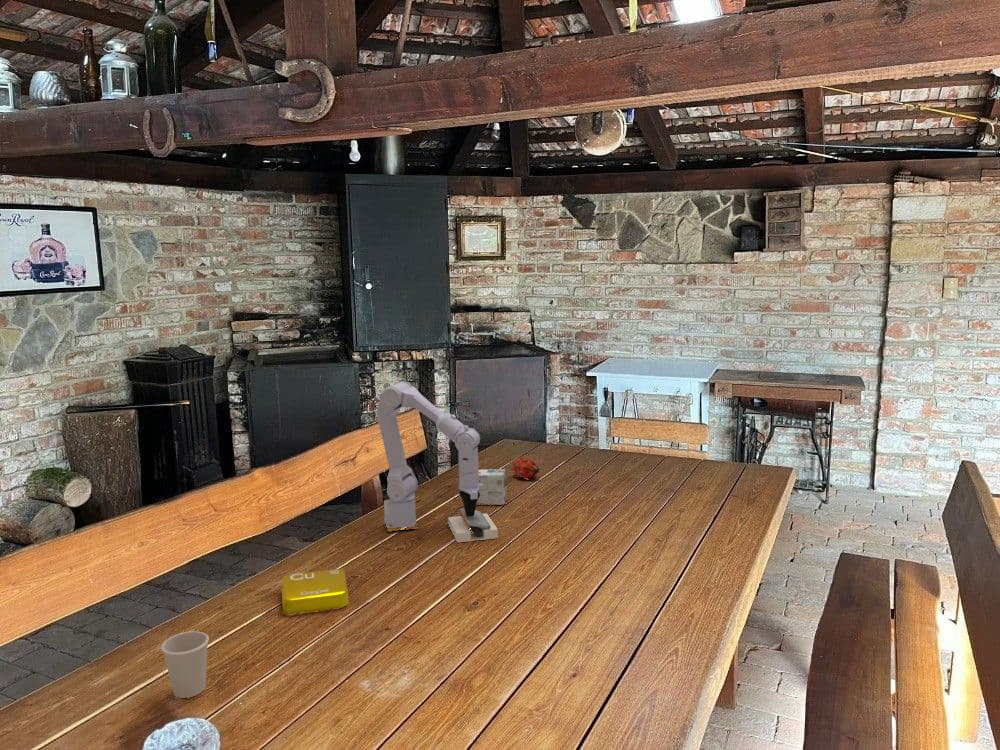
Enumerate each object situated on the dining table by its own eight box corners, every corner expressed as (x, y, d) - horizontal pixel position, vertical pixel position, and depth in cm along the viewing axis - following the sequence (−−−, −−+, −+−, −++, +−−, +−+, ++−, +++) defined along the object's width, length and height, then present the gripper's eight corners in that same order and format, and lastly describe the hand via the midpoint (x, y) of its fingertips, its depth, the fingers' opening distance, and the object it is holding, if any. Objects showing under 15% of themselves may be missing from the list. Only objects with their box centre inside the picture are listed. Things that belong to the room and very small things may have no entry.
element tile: (282, 618, 173) (281, 599, 172) (283, 591, 187) (282, 573, 186) (349, 609, 177) (348, 590, 176) (344, 583, 191) (343, 565, 190)
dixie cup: (219, 677, 148) (215, 630, 147) (203, 702, 140) (199, 652, 138) (176, 678, 148) (171, 631, 146) (158, 703, 140) (153, 654, 138)
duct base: (457, 543, 214) (456, 533, 214) (448, 526, 228) (448, 517, 227) (497, 539, 217) (497, 529, 217) (487, 522, 231) (486, 513, 230)
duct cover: (468, 525, 215) (469, 522, 215) (460, 510, 227) (461, 508, 227) (490, 528, 217) (491, 525, 217) (480, 513, 229) (481, 511, 229)
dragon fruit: (515, 477, 281) (536, 489, 273) (501, 469, 276) (523, 480, 267) (526, 458, 283) (548, 469, 274) (513, 449, 277) (535, 460, 268)
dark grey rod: (475, 530, 217) (482, 530, 218) (468, 519, 227) (474, 519, 227) (474, 537, 217) (481, 537, 218) (467, 525, 227) (473, 525, 227)
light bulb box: (506, 499, 252) (506, 468, 250) (504, 506, 245) (504, 474, 244) (474, 499, 253) (474, 468, 251) (472, 506, 246) (471, 474, 245)
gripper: (487, 476, 213) (488, 522, 215) (476, 463, 227) (478, 506, 229) (463, 478, 212) (464, 524, 214) (454, 465, 226) (455, 508, 228)
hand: (470, 515), depth 221 cm, fingers closed, pressing on duct cover
